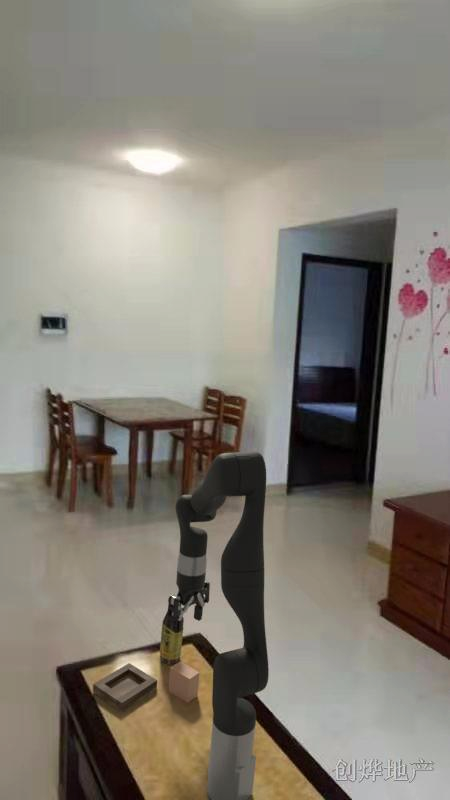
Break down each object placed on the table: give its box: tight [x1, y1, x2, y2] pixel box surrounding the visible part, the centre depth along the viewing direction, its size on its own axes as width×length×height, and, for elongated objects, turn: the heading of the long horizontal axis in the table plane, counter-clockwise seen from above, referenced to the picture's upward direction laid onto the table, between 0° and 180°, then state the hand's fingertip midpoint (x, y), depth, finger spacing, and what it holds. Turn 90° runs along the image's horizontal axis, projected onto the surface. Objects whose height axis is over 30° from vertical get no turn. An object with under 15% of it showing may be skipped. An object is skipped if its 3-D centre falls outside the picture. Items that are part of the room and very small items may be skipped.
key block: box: [168, 661, 200, 703], centre depth 164 cm, size 7×4×7 cm, turn 53°
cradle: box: [92, 662, 158, 713], centre depth 164 cm, size 11×13×2 cm
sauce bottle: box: [159, 593, 185, 665], centre depth 178 cm, size 6×6×20 cm
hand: (187, 625), depth 161 cm, fingers open, 8 cm apart
